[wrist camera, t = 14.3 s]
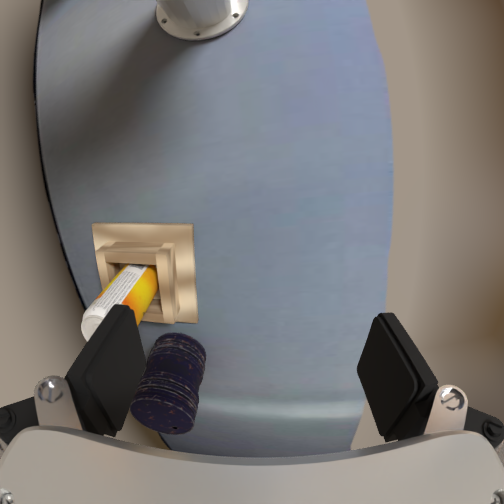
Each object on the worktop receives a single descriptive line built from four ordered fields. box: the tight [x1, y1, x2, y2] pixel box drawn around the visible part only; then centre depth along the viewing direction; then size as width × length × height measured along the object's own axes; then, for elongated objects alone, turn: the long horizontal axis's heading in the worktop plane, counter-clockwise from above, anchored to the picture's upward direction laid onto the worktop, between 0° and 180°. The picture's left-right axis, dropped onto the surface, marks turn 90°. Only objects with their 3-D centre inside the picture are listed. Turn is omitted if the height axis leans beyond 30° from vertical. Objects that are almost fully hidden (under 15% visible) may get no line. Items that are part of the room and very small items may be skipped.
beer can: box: [81, 263, 159, 342], centre depth 33 cm, size 6×6×15 cm
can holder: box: [92, 223, 198, 324], centre depth 38 cm, size 16×16×5 cm
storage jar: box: [130, 333, 206, 435], centre depth 40 cm, size 10×10×15 cm
